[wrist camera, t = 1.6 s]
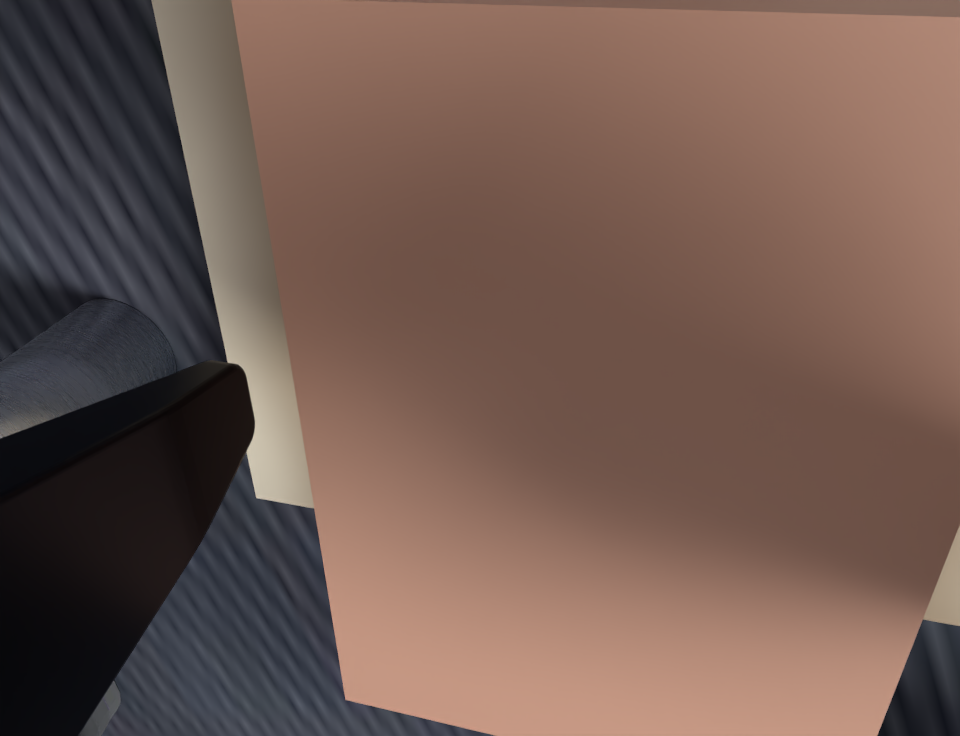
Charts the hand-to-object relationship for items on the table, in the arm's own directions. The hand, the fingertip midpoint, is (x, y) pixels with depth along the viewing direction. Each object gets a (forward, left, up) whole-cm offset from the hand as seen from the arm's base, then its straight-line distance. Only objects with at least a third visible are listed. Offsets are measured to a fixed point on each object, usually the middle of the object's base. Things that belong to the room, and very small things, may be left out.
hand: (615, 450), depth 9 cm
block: (0, 0, -6) cm, 6 cm away
